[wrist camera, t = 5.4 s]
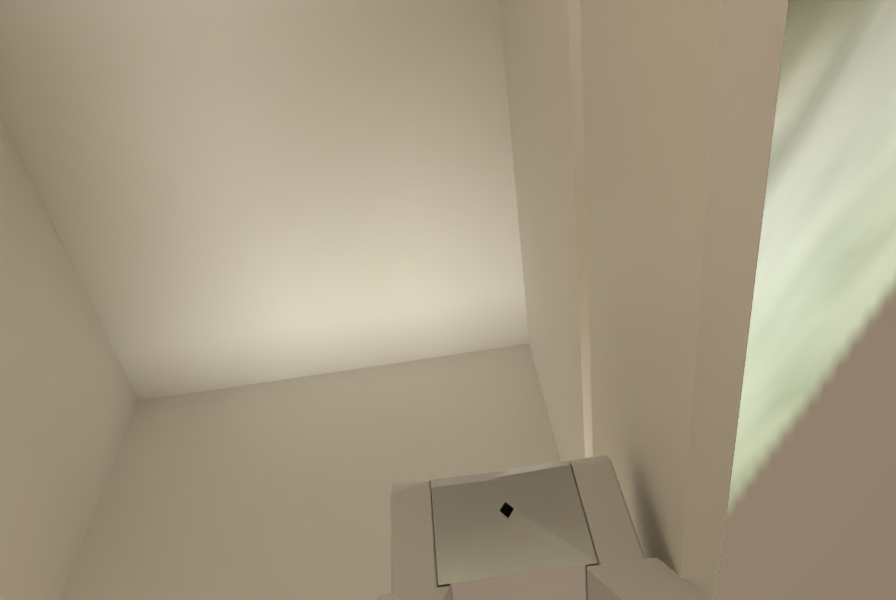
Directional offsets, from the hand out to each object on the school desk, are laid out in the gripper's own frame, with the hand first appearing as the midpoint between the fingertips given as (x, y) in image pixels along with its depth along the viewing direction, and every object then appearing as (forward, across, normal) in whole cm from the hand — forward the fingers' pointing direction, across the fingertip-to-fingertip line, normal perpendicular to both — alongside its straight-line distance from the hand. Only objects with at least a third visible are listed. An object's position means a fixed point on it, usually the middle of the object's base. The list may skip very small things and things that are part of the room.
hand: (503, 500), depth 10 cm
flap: (+4, -2, 0) cm, 4 cm away
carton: (+13, +4, 0) cm, 14 cm away
